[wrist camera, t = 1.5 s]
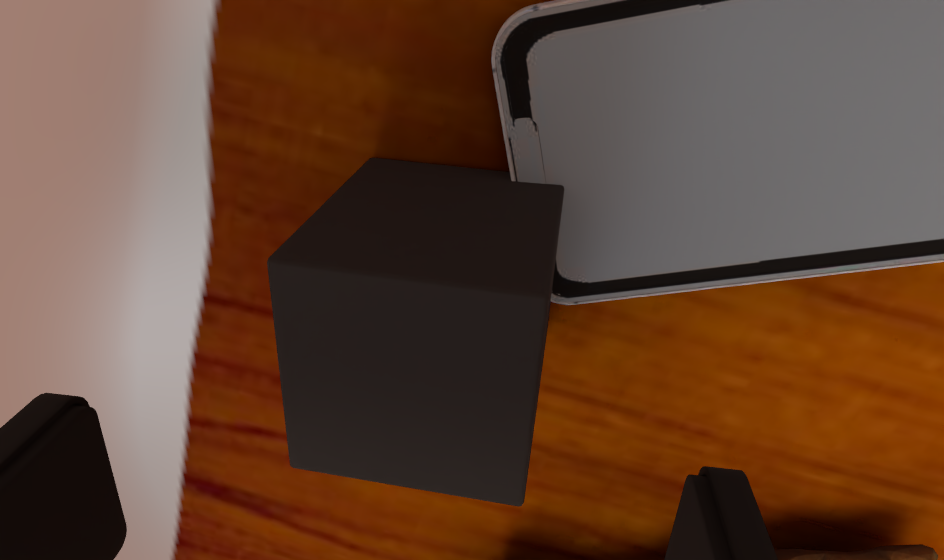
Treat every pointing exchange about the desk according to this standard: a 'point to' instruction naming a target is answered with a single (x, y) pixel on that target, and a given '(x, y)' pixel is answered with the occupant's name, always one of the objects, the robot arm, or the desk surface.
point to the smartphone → (727, 138)
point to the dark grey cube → (418, 327)
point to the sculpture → (862, 554)
